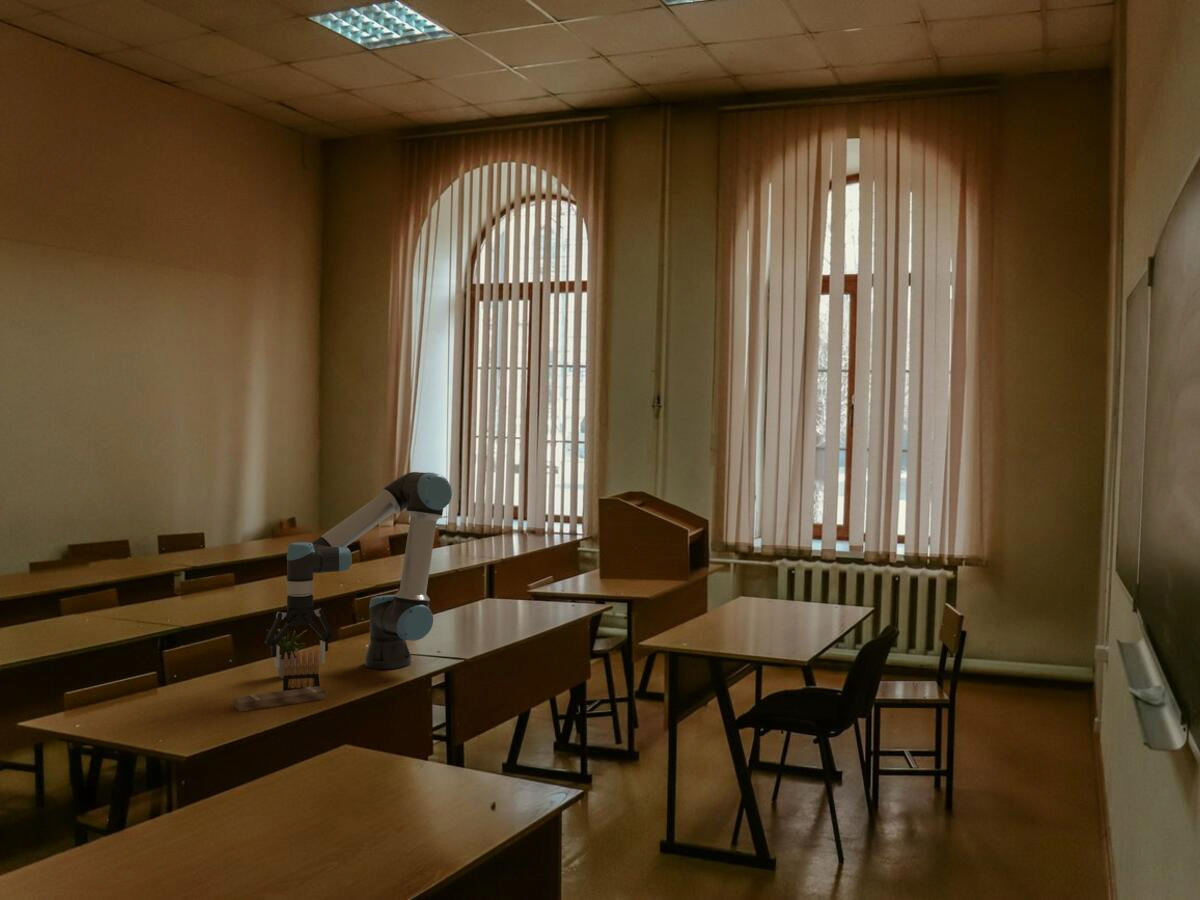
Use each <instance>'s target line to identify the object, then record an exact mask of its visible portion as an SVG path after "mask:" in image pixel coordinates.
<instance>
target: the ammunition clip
mask: <svg viewBox="0 0 1200 900" xmlns="http://www.w3.org/2000/svg"><path fill="white" fill-rule="evenodd" d="M296 655H297V656H296V674H295V664H294V655H293V652H291V655H290V666H289V665H288V656H287V653H286V652H285V655H284V665H283V678H282V681H283V682H282V691H286V690H293V689H300V688H306V687H315V686H319V687H320V688H321V683H320V682H321V681H320V680H321V679H320V659H319V653H318V650H315V651H314V657H313V654H312V651H311V650H309V652H308V659H307V654H306V651H305V650H304V651H303V652H302V657H301V654H300V651H299V650H298V652H296Z"/></svg>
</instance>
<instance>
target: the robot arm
mask: <svg viewBox="0 0 1200 900" xmlns="http://www.w3.org/2000/svg"><path fill="white" fill-rule="evenodd" d="M452 491H453V490H452V486H451V484H450V482H449V480H448V479H447V478H446V477H445V476H444V475H441V474H439V473H435V472H419V471H411V472H408V473H405V474H403V475H401V476H400V477H398V478H397V479H395V480H393V481H392V482H391V483H389V484H388V485H386V486H385V487H383V488H382V489H380V491H379V495H377V496H376V497H375V498H373V499H372V500H370V501H369V502H367V503H366V504H365V505H362V507H361V508H359V509H358V510H356V511H354V512H353V513H352V514H351V515H349V516H348V517H346V518H345V519H343V520H342V521H340V522H339V523H337V524H336V525H335V526H334V527H332V528H330V529H329V530H328V531H326V532H325V533H324V534H322V535H321V536H319V537H318V538H316V539H315V540H313V541H311V542H306V541H302V542H292V543H289V544H288V546H287V552H286V560H287V561H286V568H287V569H286V570H287V571H286V573H287V581H286V582H287V584H286V586H287V587H286V589H287V590H286V592H287V596H286V611H285V612H280V611H276V613H275V619H274V621H273V623H272V625H271V627H270V629H269V631H268V632H267V634H266V637H265V640H264V643H265V644H266V645H269V646H270V655H271V657H272V658H274V661H273V662H274V668H275V669H278V668H279V656H280V654H279V653H280V651H279V646H280V645H279V644H280V643H279V642H280V641H282V638H283V637H285V636H286V635H287V634H288V633H289V631H290V629H292V627H293V626H294V627H300V626H303V627H304V626H307V625H309V626H310V627H311V628H312V629H313V630H314V631H315V632H316V634H318V636H319V637H320V638H321V639H322V640H319V663H321V664H325V663H326V652H328V651H329V641H330V640H331V639H335V634H334V633H333V632H334V631H332V629H331V626H330V624H329V623H328V621H327V618H326V616H325V610H324V609H323V608H321V607H318V608H317V609H314V595H313V593H314V574H320V573H321V574H323V573H334V572H335V573H337V572H338V573H340V572H344V571H348V570H350V568H351V566H352V563H353V562H352V561H353V556H352V552H351V550H350V548H348V546H349V545H352V543H354V542H355V541H357V540H358V539H359V538H361V537H362V536H364V535H365V534H367V533H368V531H370V530H372V529H374V528H375V527H376V526H377V525H378V524H380V523H382V522H383V521H384V520H386V519H387V518H388V517H390V516H391V515H393V514H395V515H396V514H397V515H398V514H399V513H400V512H402V511H404V510H406V513H407V515H409V517H410V518H409V525H408V531H407V539H406V545H405V552H404V559H403V564H402V570H401V571H402V572H401V579H400V586H399V590H398V591H397V592H396V593H395V594H386V595H379V596H374V597H371V598H370V600H369V606H368V610H369V644H368V648H367V651H366V654H365V657H364V666H365V667H366V668H368V669H374V670H375V669H376V670H390V669H391V670H392V669H400V668H404V667H407V666H410V665H411V664H412V655H411V652H410V649H409V646H408V643H407V641H412V642H413V641H414V642H415V641H419V640H421V639H424V638H425V637H426V636H427V635H429V633H430V631H431V630H432V628H433V625H434V614H433V613H432V611H431V609H430V604H431V603H430V602H431V599H430V597H429V596H428V595H427V589H428V583H429V577H430V576H429V574H430V569H431V563H432V556H433V548H434V542H435V535H436V528H437V521H438V520H440V518H442V517H443V514H444V513H443V512H444V509H445V508H447V506H448V505H449V504H450V502H451V500H452V498H453V497H452V496H453V492H452ZM314 616H317V617H318V619H319V621H320V623H321V625H322V626H323V629H324V631H325V632H326V634H325V633H324V631H323V630H321V628H320V626H318V625H317V624H316V623H315V621H314V620H313V619H312V618H314ZM285 618H286V619H287V621H286V622H285V623H284V625H283V626H282V627H281V629H280V630H279V629H278V628H279V627H280V625H281V623H282V620H284V619H285ZM278 630H279V631H280V632H278ZM288 630H289V631H288ZM276 633H277V634H276ZM275 635H276V637H274V636H275ZM277 644H278V645H279V646H278V645H277Z"/></svg>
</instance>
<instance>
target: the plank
mask: <svg viewBox="0 0 1200 900" xmlns="http://www.w3.org/2000/svg"><path fill="white" fill-rule="evenodd" d="M323 700H326V691H325V690H324V688H322V687H321V686H320V687H319V686H315V687H306V688H300V689H293V690H286V691H283V690H280V691H273V692H267V693H258V694H255V693H253V694H250V695H245V696H238V697H234V698H233V702H234V703H233V704H234V705H233V706H234V708H235V709H236V710H237V711H238V712H240V713H241V712H247V711H248V710H249V711H254V710H255V709H256V710H260V709H261V708H263V709H268V708H267V707H269V708H275V707H274V706H276V707H282V705H283V706H290V705H296V704H302V703H309V702H310V703H311V702H315V701H323Z"/></svg>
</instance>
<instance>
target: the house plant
mask: <svg viewBox="0 0 1200 900" xmlns="http://www.w3.org/2000/svg"><path fill="white" fill-rule="evenodd" d="M280 630H281V629H280V628H279V627H278V629H277V633H279V632H280ZM267 631H268V632H269V631H270V629H267ZM292 631H293V629H292V630H291V631H290V629H289V630H288V633H286V635H287V636H284V637H283V638H282V639H281V640H280V642H279V643H278V644H277V645H278V646H279V668H277V671H278V677H279V678H280V679H283V665H284V655H285V652H286V653H287V656H288V665H289V666H290V655H291V652H293V655H294V664H295V674H296V656H297V652H298V651H299V650H300V649H301V648H303V647H305V644H306V643H305V642H304V643H301V642H300V643H297V642H298V640H299V639H300V638H301V637H302V635H303V634H304V633H306V632H307V631H308V629H306V630H303V631H302V632H301V633H299V634H296V630H294V631H293V633H292V636H291V639H290V641H289V637H290V634H291V632H292ZM265 635H266V636H267V634H265ZM276 635H277V634H275V636H274V638H275V637H276ZM301 645H302V646H301ZM280 646H281V647H280Z"/></svg>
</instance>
